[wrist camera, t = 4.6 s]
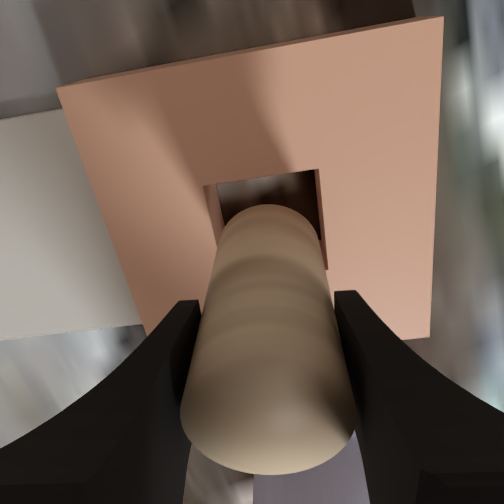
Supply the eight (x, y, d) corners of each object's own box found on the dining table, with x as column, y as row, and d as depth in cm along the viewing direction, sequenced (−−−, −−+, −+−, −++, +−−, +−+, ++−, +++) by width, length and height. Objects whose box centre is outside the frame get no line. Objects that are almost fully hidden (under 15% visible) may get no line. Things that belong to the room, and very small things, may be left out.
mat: (148, 317, 24) (146, 323, 24) (-38, 338, 26) (-44, 345, 25) (73, 106, 19) (67, 108, 18) (-160, 147, 20) (-172, 151, 20)
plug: (320, 290, 17) (355, 472, 10) (225, 296, 18) (195, 476, 11) (318, 200, 15) (359, 349, 8) (211, 208, 16) (164, 358, 9)
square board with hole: (411, 301, 23) (429, 336, 21) (169, 328, 25) (157, 364, 22) (416, 17, 17) (443, 16, 14) (86, 78, 18) (54, 88, 16)
